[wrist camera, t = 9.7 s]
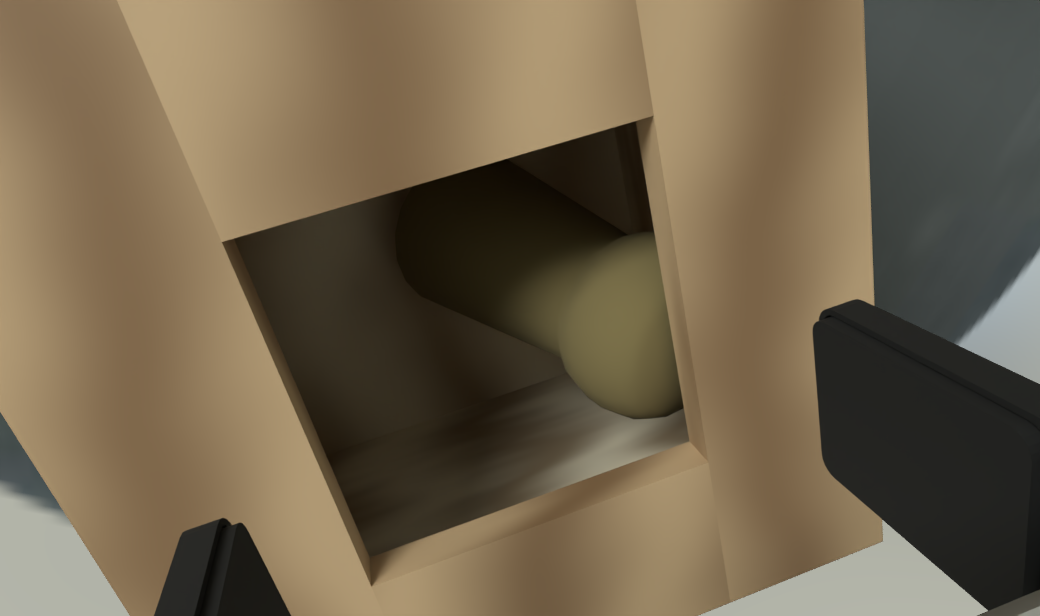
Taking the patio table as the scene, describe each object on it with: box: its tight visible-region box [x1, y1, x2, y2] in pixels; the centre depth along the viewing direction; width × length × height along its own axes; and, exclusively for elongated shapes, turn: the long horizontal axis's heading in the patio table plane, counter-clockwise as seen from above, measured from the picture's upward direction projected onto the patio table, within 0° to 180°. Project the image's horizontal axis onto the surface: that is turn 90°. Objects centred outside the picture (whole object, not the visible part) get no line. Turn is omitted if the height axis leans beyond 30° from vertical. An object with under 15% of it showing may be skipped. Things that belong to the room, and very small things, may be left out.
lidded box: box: [0, 0, 883, 616], centre depth 21 cm, size 18×18×14 cm
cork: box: [395, 159, 684, 419], centre depth 22 cm, size 6×6×11 cm
